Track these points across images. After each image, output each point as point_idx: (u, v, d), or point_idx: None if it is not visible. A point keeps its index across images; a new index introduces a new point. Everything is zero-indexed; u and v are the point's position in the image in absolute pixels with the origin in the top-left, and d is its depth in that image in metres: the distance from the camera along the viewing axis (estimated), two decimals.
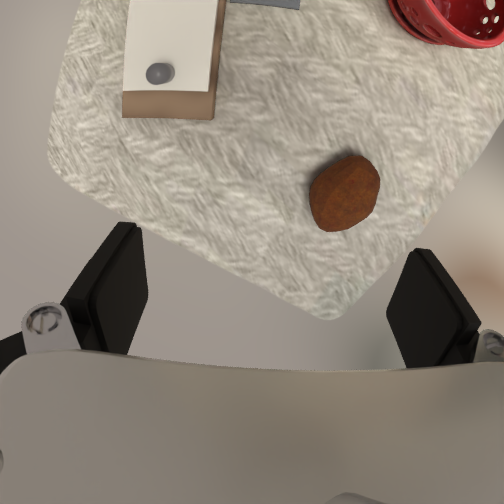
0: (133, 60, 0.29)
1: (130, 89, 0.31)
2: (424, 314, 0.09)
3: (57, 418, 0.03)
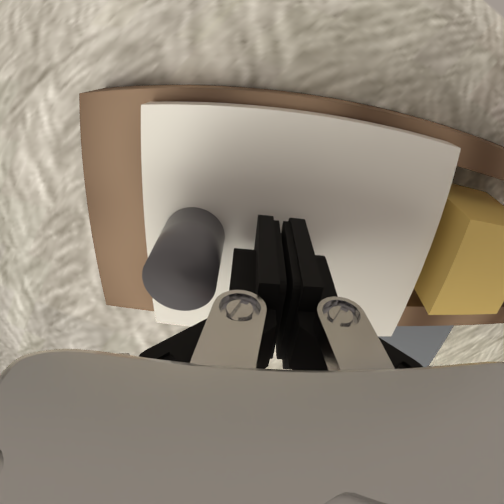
0: (243, 141, 0.11)
1: (144, 132, 0.10)
2: None
3: (57, 418, 0.03)
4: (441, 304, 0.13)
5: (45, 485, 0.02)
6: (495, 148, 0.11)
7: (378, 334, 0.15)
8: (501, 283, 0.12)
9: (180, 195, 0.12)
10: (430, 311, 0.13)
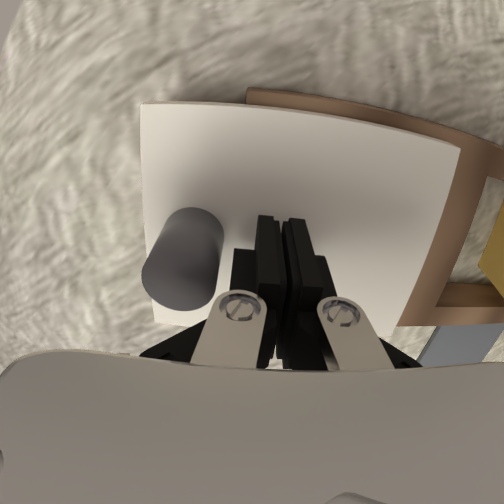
0: (243, 141, 0.10)
1: (143, 132, 0.10)
2: None
3: (57, 418, 0.03)
4: None
5: (45, 485, 0.02)
6: None
7: (378, 334, 0.15)
8: None
9: (179, 195, 0.12)
10: None
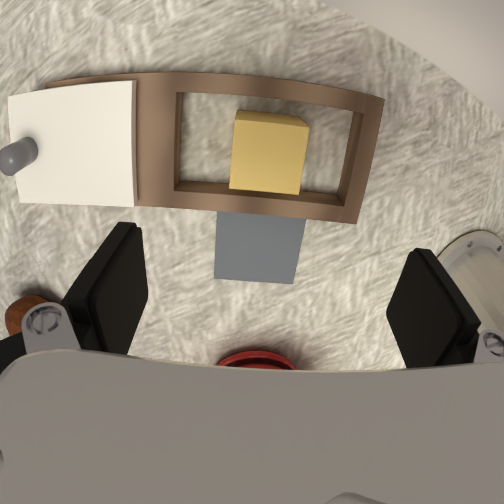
0: (39, 104, 0.19)
1: (9, 107, 0.19)
2: (424, 314, 0.09)
3: (57, 418, 0.03)
4: (236, 180, 0.22)
5: (45, 485, 0.02)
6: (273, 80, 0.21)
7: (124, 204, 0.24)
8: (289, 167, 0.22)
9: (21, 132, 0.20)
10: (229, 185, 0.23)
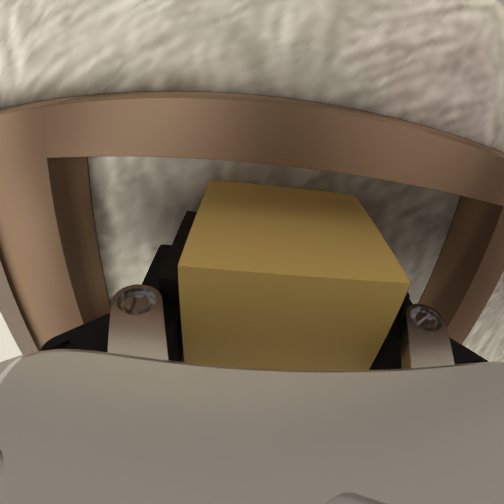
0: None
1: None
2: None
3: (57, 418, 0.03)
4: None
5: (45, 485, 0.02)
6: (304, 112, 0.07)
7: None
8: (336, 369, 0.08)
9: None
10: None
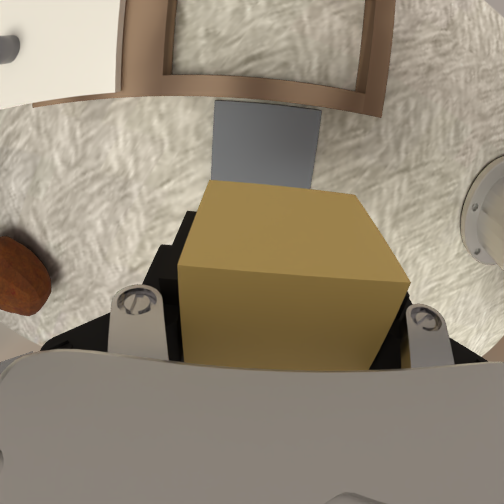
0: (27, 1, 0.13)
1: None
2: None
3: (57, 418, 0.03)
4: None
5: (45, 485, 0.02)
6: None
7: (104, 91, 0.18)
8: (336, 369, 0.08)
9: (6, 32, 0.14)
10: None
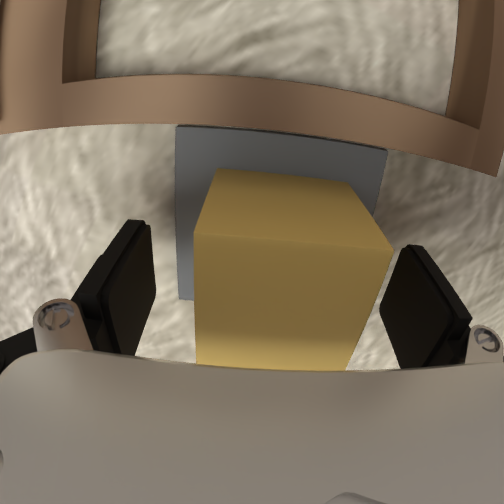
0: None
1: None
2: (416, 310, 0.09)
3: (57, 418, 0.03)
4: (211, 356, 0.10)
5: (45, 485, 0.02)
6: None
7: None
8: (331, 333, 0.09)
9: None
10: (196, 362, 0.10)
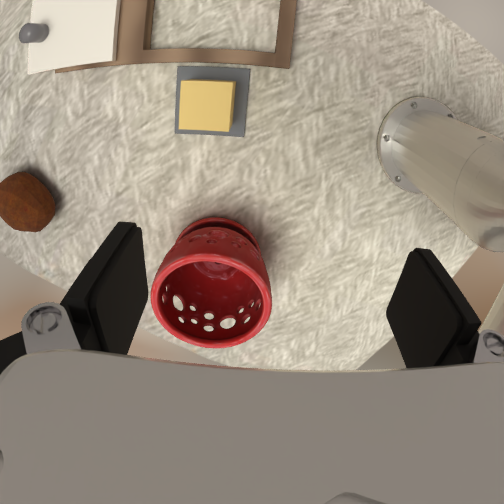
0: (54, 1, 0.22)
1: (32, 7, 0.22)
2: (424, 314, 0.09)
3: (57, 418, 0.03)
4: (183, 123, 0.30)
5: (45, 485, 0.02)
6: None
7: (105, 60, 0.27)
8: (220, 111, 0.29)
9: (39, 21, 0.23)
10: None
